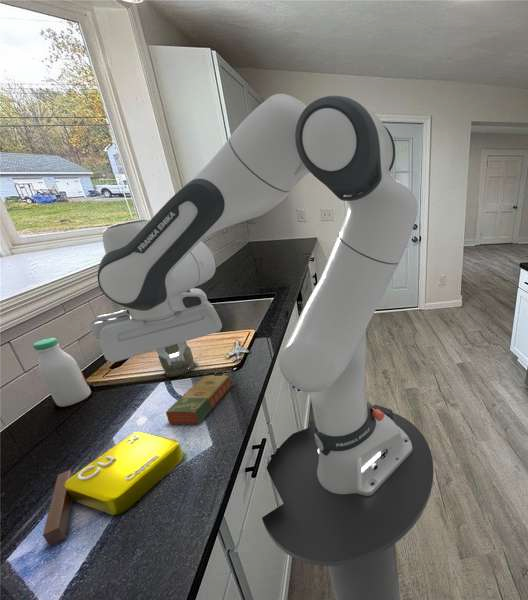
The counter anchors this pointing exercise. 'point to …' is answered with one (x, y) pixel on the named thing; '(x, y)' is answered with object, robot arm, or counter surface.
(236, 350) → the toy airplane
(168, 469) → the element tile
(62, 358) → the milk bottle
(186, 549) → the counter surface
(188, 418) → the carton
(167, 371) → the thermos
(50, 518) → the back rail
